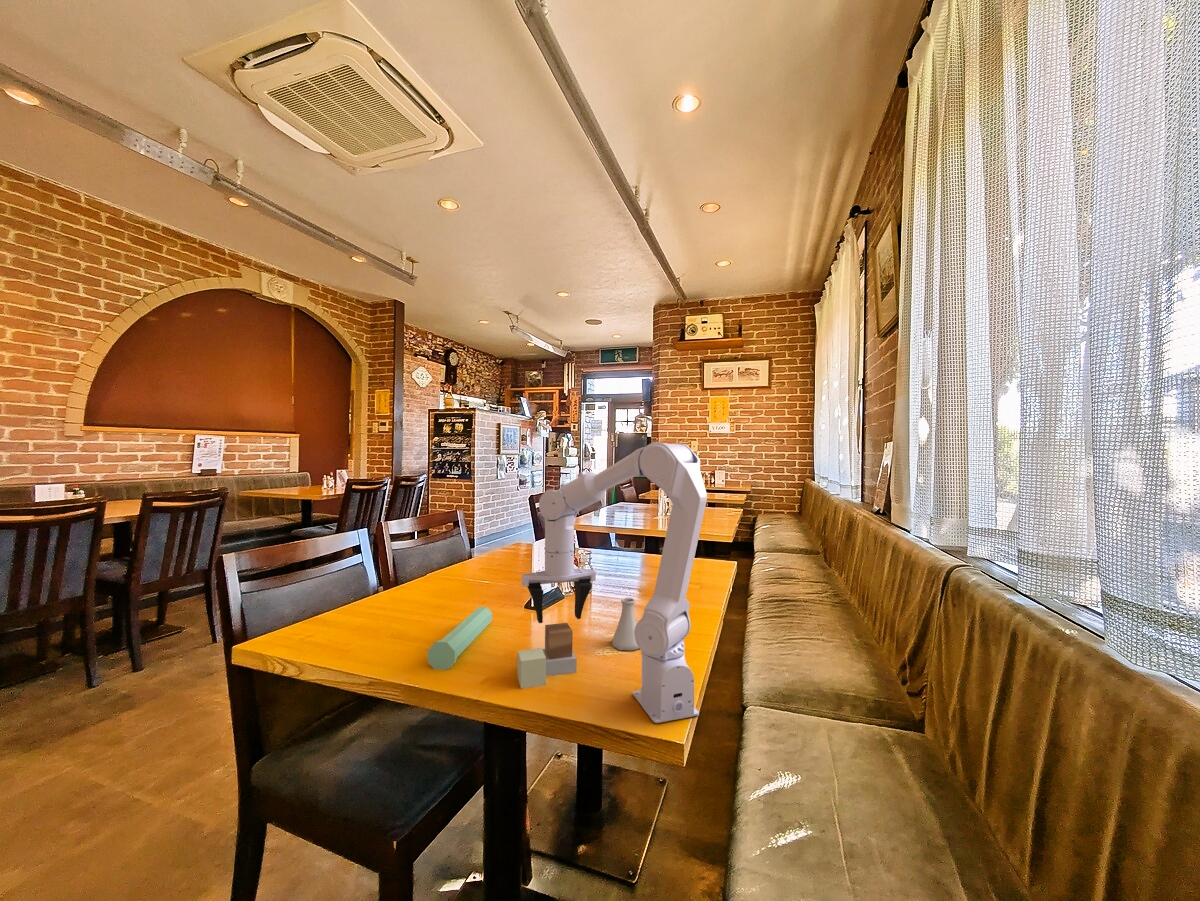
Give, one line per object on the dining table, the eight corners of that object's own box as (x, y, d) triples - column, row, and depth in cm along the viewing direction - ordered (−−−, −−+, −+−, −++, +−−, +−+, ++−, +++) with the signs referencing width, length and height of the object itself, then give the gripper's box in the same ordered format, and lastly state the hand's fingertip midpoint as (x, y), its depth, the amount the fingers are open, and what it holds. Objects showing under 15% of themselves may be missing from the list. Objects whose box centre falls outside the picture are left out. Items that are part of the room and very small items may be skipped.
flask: (617, 653, 98) (617, 606, 98) (607, 640, 105) (607, 595, 105) (649, 650, 100) (649, 603, 100) (637, 637, 107) (637, 593, 107)
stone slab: (576, 674, 89) (576, 658, 89) (545, 677, 88) (545, 661, 88) (570, 660, 95) (571, 646, 95) (541, 663, 94) (541, 648, 94)
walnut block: (572, 656, 90) (572, 630, 90) (549, 659, 89) (549, 633, 89) (566, 647, 95) (566, 622, 95) (544, 649, 93) (545, 624, 93)
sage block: (545, 685, 85) (546, 657, 85) (521, 689, 83) (521, 661, 83) (541, 674, 89) (541, 647, 89) (517, 677, 87) (517, 650, 87)
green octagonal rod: (478, 598, 115) (433, 635, 91) (500, 608, 115) (460, 648, 90) (469, 620, 116) (422, 663, 91) (491, 630, 115) (448, 676, 90)
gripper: (588, 544, 98) (588, 609, 98) (519, 548, 93) (519, 616, 93) (599, 551, 91) (598, 620, 91) (525, 555, 87) (524, 628, 87)
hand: (559, 619), depth 92 cm, fingers open, 7 cm apart
